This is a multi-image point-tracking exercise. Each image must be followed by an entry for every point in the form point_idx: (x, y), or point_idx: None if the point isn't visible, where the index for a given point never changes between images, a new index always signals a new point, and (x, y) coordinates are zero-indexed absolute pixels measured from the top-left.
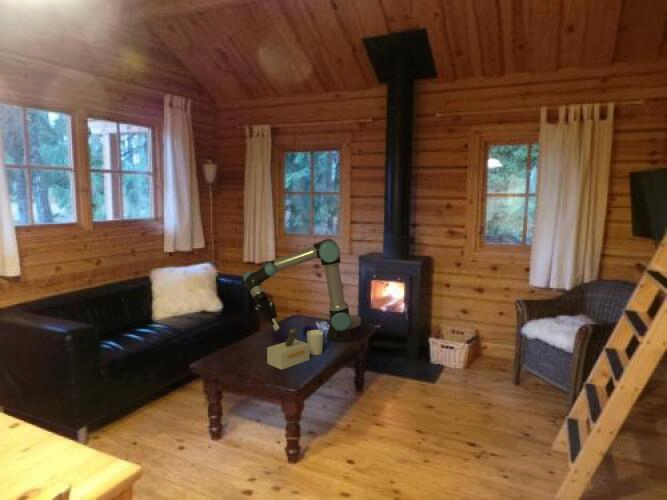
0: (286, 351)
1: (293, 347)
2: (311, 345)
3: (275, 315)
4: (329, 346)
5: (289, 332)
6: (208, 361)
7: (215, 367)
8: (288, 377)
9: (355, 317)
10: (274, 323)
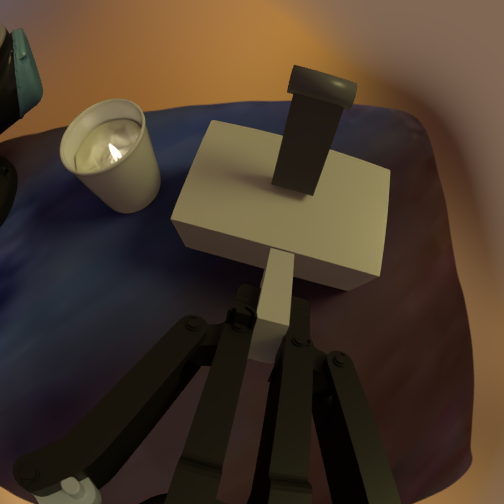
0: (359, 160)
1: None
2: (154, 159)
3: (204, 332)
4: (59, 177)
5: (350, 106)
6: (429, 481)
7: (459, 421)
8: (388, 153)
9: None
10: (289, 290)
